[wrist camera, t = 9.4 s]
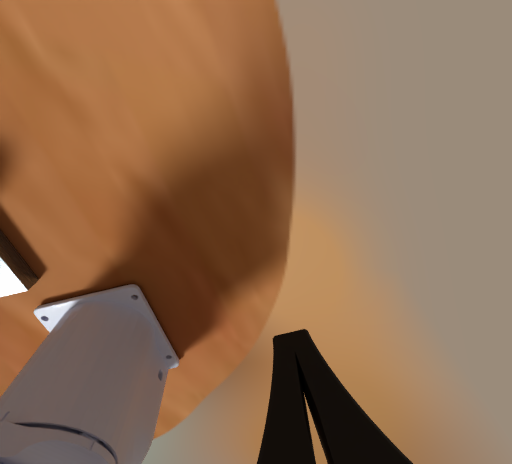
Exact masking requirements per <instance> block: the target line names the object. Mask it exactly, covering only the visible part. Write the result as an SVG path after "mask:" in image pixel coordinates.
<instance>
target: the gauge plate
mask: <svg viewBox="0 0 512 464" xmlns="http://www.w3.org/2000/svg"><path fill="white" fill-rule="evenodd" d="M38 280H39V279H38V278H37V277H36V275H35V274H34V273H33V271H32V270H31V269H30V267H29V266H28V265H27V264H26V262H25V261H24V260H23V258H22V257H21V256H20V254H19V253H18V252H17V251H16V249H15V248H14V247H13V245H12V244H11V243H10V241H9V240H8V239H7V238H6V236H5V235H4V234H3V232H2V231H1V230H0V297H3V296H7V295H11V294H15V293H20V292H24V291H28V290H29V289H30V288H31V287H32V286H33V285H34V284H35V283H36V282H37V281H38Z"/></svg>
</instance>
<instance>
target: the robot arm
mask: <svg viewBox="0 0 512 464" xmlns="http://www.w3.org/2000/svg"><path fill="white" fill-rule="evenodd" d="M134 295H137V296H138V297H135V296H134ZM34 314H35V316H36V317H37V318H38V319H39V320H40V322H41V323H42V324H43V325H44V326H45V328H46V329H47V330H48V331H49V332H50V333H49V335H48V336H47V337H46V338H45V340H44V341H43V342H42V344H41V345H40V346H39V348H38V349H37V350H36V352H35V353H34V354H33V355H32V357H31V358H30V359H29V361H28V362H27V363H26V365H25V366H24V367H23V369H22V370H21V371H20V372H19V374H18V375H17V376H16V378H15V379H14V380H13V382H12V383H11V384H10V386H9V387H8V388H7V390H6V391H5V392H4V393H3V395H2V396H1V397H0V464H141V463H142V461H143V460H144V458H145V456H146V454H147V452H148V450H149V448H150V446H151V443H152V440H153V436H154V432H155V427H156V423H157V418H158V414H159V409H160V405H161V400H162V396H163V391H164V387H165V382H166V378H167V373H168V369H171V368H175V367H177V366H178V365H179V359H178V357H177V355H176V353H175V351H174V350H173V348H172V346H171V344H170V342H169V340H168V339H167V337H166V335H165V333H164V331H163V330H162V328H161V326H160V324H159V322H158V320H157V319H156V317H155V315H154V313H153V311H152V310H151V308H150V306H149V304H148V302H147V300H146V299H145V297H144V295H143V293H142V291H141V289H140V288H139V287H138V286H137V285H135V284H130V285H125V286H121V287H117V288H113V289H108V290H104V291H100V292H96V293H91V294H87V295H83V296H79V297H74V298H70V299H66V300H62V301H57V302H53V303H49V304H45V305H40V306H38V307H37V308H36V309H35V310H34ZM273 347H274V348H273V349H274V356H273V374H272V384H271V392H270V400H269V406H268V413H267V418H266V424H265V429H264V434H263V439H262V444H261V448H260V453H259V457H258V461H257V464H316V461H315V456H314V450H313V444H312V438H311V433H310V426H309V421H308V415H307V409H306V403H305V397H306V400H307V403H308V406H309V409H310V412H311V415H312V418H313V421H314V424H315V427H316V430H317V433H318V435H319V439H320V441H321V445H322V448H323V450H324V453H325V456H326V459H327V463H328V464H413V463H412V462H411V461H410V460H409V459H408V458H407V457H406V456H405V455H404V454H403V453H402V452H401V451H400V450H399V449H398V448H397V447H396V446H395V445H394V444H393V443H392V442H391V441H390V440H389V438H387V436H385V434H384V433H383V432H382V431H381V430H380V429H379V428H378V427H377V425H376V424H375V423H374V422H373V421H372V420H371V419H370V418H369V416H368V415H367V414H366V413H365V412H364V411H363V410H362V408H361V407H360V406H359V405H358V404H357V402H356V401H355V400H354V399H353V397H352V396H351V395H350V394H349V392H348V391H347V390H346V389H345V388H344V386H343V385H342V384H341V382H340V381H339V379H338V378H337V377H336V375H335V374H334V373H333V371H332V370H331V368H330V367H329V366H328V364H327V363H326V361H325V360H324V358H323V357H322V355H321V354H320V352H319V351H318V349H317V347H316V346H315V344H314V342H313V340H312V339H311V337H310V335H309V332H308V331H307V330H305V329H303V330H298V331H294V332H290V333H286V334H281V335H277V336H274V338H273ZM304 394H305V397H304Z"/></svg>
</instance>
